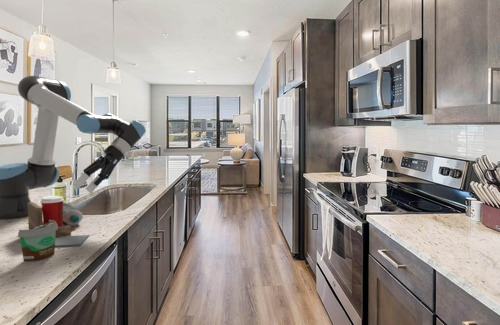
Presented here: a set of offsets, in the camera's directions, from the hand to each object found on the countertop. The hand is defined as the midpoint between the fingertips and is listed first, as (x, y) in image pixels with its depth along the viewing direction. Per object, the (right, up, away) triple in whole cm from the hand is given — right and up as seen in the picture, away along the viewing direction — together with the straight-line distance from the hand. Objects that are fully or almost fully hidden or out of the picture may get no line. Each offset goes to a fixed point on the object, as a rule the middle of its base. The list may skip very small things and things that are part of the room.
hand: (81, 188), depth 129 cm
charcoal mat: (+4, -18, -15) cm, 23 cm away
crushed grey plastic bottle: (-11, -15, +10) cm, 22 cm away
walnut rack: (-8, -17, -7) cm, 20 cm away
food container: (+3, -19, -28) cm, 34 cm away
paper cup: (-7, -17, -6) cm, 19 cm away
